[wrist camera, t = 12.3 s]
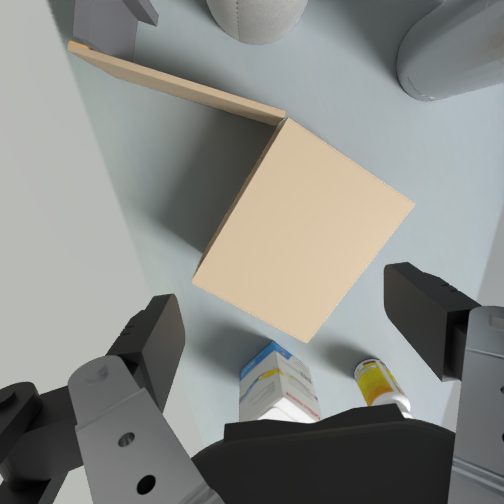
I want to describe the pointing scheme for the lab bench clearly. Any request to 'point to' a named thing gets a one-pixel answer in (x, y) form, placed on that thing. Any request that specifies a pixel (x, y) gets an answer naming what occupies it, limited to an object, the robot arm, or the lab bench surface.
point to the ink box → (277, 388)
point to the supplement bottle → (380, 386)
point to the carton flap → (120, 66)
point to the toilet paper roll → (257, 18)
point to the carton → (299, 233)
